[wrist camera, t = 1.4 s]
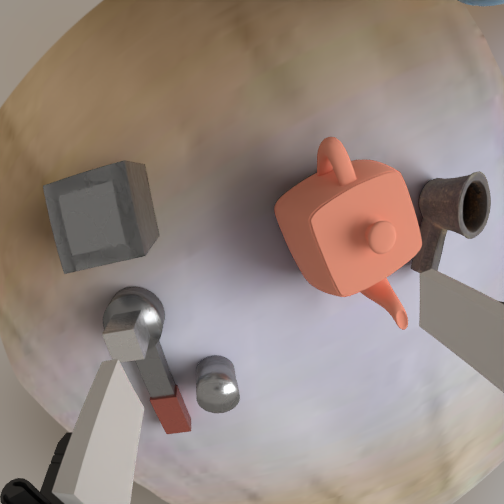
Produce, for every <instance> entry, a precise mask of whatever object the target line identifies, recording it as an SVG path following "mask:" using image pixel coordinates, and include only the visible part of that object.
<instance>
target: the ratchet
mask: <svg viewBox="0 0 504 504" xmlns="http://www.w3.org/2000/svg"><path fill="white" fill-rule="evenodd" d="M164 319H165V312H164V308H163V305H162V303H161V301H160V300H159V298H158V297H157V296H156V295H155V294H154V293H152V292H151V291H149V290H147V289H145V288H141V287H127V288H124V289H122V290H121V291H119V292H118V293H117V294H116V295H115V296H114V298H113V299H112V301H111V302H110V304H109V305H108V307H107V308H106V310H105V312H104V316H103V326H104V332H103V334H102V335H103V338H104V340H105V343H106V345H107V348H108V350H109V353H110V355H111V357H112V360H115V359H119V361H120V362H128V361H136V364H137V366H138V368H139V371H140V373H141V376H142V378H143V380H144V382H145V385H146V387H147V389H148V391H149V394H150V396H151V397H150V402H151V404H152V406H153V408H154V410H155V412H156V414H157V416H158V418H159V420H160V422H161V424H162V426H163V428H164V430H165V432H166V434H172V433H181V432H188V431H191V418H190V415H189V413H188V410H187V408H186V406H185V403H184V401H183V398H182V396H181V393H180V391H179V388H178V386H177V385H175V382H174V380H173V377H172V375H171V372H170V369H169V367H168V364H167V361H166V359H165V356H164V353H163V350H162V347H161V345H160V342H159V339H160V337H161V333H162V328H163V324H164Z"/></svg>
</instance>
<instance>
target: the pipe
mask: <svg viewBox="0 0 504 504" xmlns="http://www.w3.org/2000/svg"><path fill="white" fill-rule="evenodd" d="M490 205H491V197H490V190H489V186H488V182H487V179H486V177H485V175H484V174H483V173H482V172H475V173H472V174H471V175H468V176H463V177H458V178H449V179H442V178H436V179H433V180H430V181H429V182H428V183H427V184H426V185H425V186H424V188H423V190H422V192H421V195H420V199H419V208H420V211H421V213H422V216H423V220H422V224H421V227H420V233H421V239H422V247H421V249H420V251H419V252H418V253H417V254H416V255H415V256H414V257H413V260H412V265H411V269H413V270H414V271H416V272H419V273H422V272H425V271H427V270H430V269H434V270H436V271H437V270H438V266H439V262H440V258H441V254H442V249H443V245H444V240H445V236H446V233H447V230H451V231H454V232H456V233H459V234H461V235H463V236H465V237H466V238H467V239H472V238H474V237H476V236H477V235H479V234H480V233H481V232H482V230H483V229H484V227H485V226H486V223H487V220H488V217H489V213H490Z"/></svg>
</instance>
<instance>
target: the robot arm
mask: <svg viewBox="0 0 504 504" xmlns="http://www.w3.org/2000/svg"><path fill="white" fill-rule="evenodd" d="M458 1H460V2H462V3H465V4H468V5H478V6H493V5H499V4H503V3H504V0H458ZM419 326H420V327H421V328H422V329H424V330H425V331H426V332H428V333H429V334H430V335H432V336H433V337H434V338H435V339H437V340H438V341H439V342H441V343H442V344H443V345H445V346H446V347H447V348H448V349H450V350H451V351H452V352H454V353H455V354H456V355H457V356H459V357H460V358H461V359H462V360H464V361H465V362H466V363H468V364H469V365H470V366H471V367H473V368H474V369H475V370H476V371H478V372H479V373H480V374H481V375H483V376H484V377H485V378H486V379H488V380H489V381H490V382H491V383H492V384H494V385H495V386H496V387H497V388H499V389H500V390H501V391H502V392H503V393H504V302H500V301H496V300H495V299H493V298H491V297H489V296H487V295H485V294H483V293H481V292H479V291H477V290H475V289H473V288H471V287H469V286H467V285H465V284H463V283H461V282H459V281H457V280H455V279H453V278H451V277H449V276H446V275H444V274H442V273H440V272H438V271H436V270H434V269H430V270H427V271H425V272H422V273H420V321H419ZM143 413H144V407H143V405H142V403H141V401H140V400H139V398H138V396H137V394H136V392H135V391H134V389H133V387H132V385H131V383H130V381H129V379H128V377H127V375H126V373H125V371H124V369H123V367H122V365H121V363H120V361H119V359H115V360H110V361H104V362H102V364H101V366H100V368H99V370H98V373H97V375H96V377H95V379H94V382H93V384H92V386H91V388H90V391H89V393H88V396H87V398H86V400H85V403H84V405H83V408H82V410H81V412H80V415H79V417H78V420H77V422H76V425H75V428H74V430H73V433H66V434H65V435H64V437H63V438H62V439H61V440H60V441H59V442H58V445H57V447H56V450H55V452H54V454H55V455H54V456H53V458H52V460H51V464H50V465H49V468H48V471H47V474H46V477H45V479H44V482H43V485H42V488H41V491H40V492H39V491H38V490H37V489H36V488H35V487H34V486H33V485H32V484H31V483H30V482H29V481H27V480H25V479H21V478H18V479H14V480H11V481H10V482H9V483H7V484H6V485H5V487H4V488H3V490H2V492H1V496H0V498H1V503H2V504H130V502H131V493H132V485H133V477H134V470H135V463H136V456H137V449H138V443H139V437H140V431H141V425H142V419H143Z"/></svg>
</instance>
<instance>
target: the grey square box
mask: <svg viewBox="0 0 504 504" xmlns="http://www.w3.org/2000/svg"><path fill="white" fill-rule="evenodd" d="M43 189H44V194H45V199H46V204H47V209H48V214H49V218H50V222H51V227H52V231H53V235H54V239H55V243H56V246H57V250H58V254H59V257H60V261H61V264H62V268H63V271H64V274H66V273H71V272H75V271H80V270H84V269H88V268H93V267H97V266H102V265H106V264H111V263H115V262H120V261H124V260H129V259H133V258H138V257H142V256H145V255H146V254H147V253H148V251H149V250H150V248H151V247H152V245H153V244H154V242H155V241H156V240H157V238H158V237H159V231H158V226H157V222H156V217H155V213H154V208H153V203H152V198H151V193H150V188H149V183H148V178H147V173H146V167H145V164H140V163H135V162H130V161H121V162H117V163H114V164H110V165H107V166H103V167H100V168H96V169H93V170H90V171H86V172H83V173H80V174H77V175H74V176H71V177H68V178H65V179H62V180H59V181H56V182H53V183H50V184H47V185H44V186H43Z"/></svg>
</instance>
